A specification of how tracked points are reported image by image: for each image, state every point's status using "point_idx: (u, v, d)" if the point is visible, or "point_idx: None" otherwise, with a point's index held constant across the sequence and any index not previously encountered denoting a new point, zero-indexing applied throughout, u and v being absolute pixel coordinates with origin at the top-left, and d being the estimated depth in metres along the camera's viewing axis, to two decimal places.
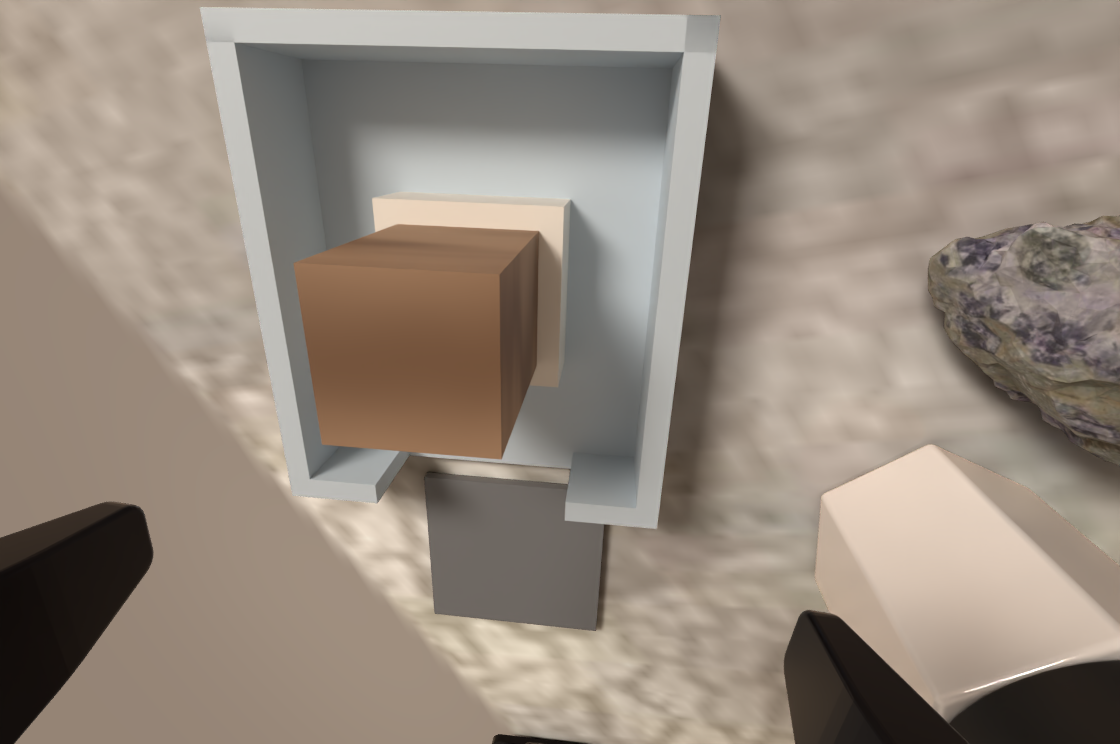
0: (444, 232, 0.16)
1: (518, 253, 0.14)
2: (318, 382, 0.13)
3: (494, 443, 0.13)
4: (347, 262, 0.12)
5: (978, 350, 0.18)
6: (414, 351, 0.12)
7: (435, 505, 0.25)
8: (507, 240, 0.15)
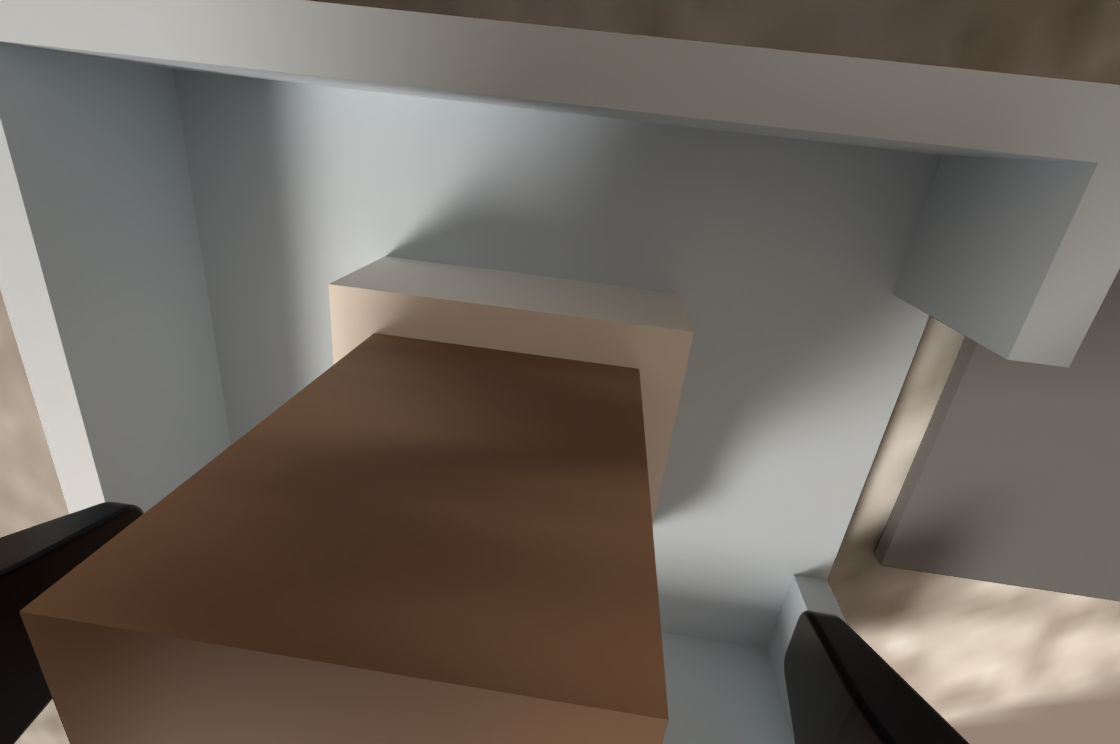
0: None
1: (239, 440, 0.06)
2: None
3: (600, 724, 0.04)
4: None
5: None
6: None
7: (949, 561, 0.13)
8: None
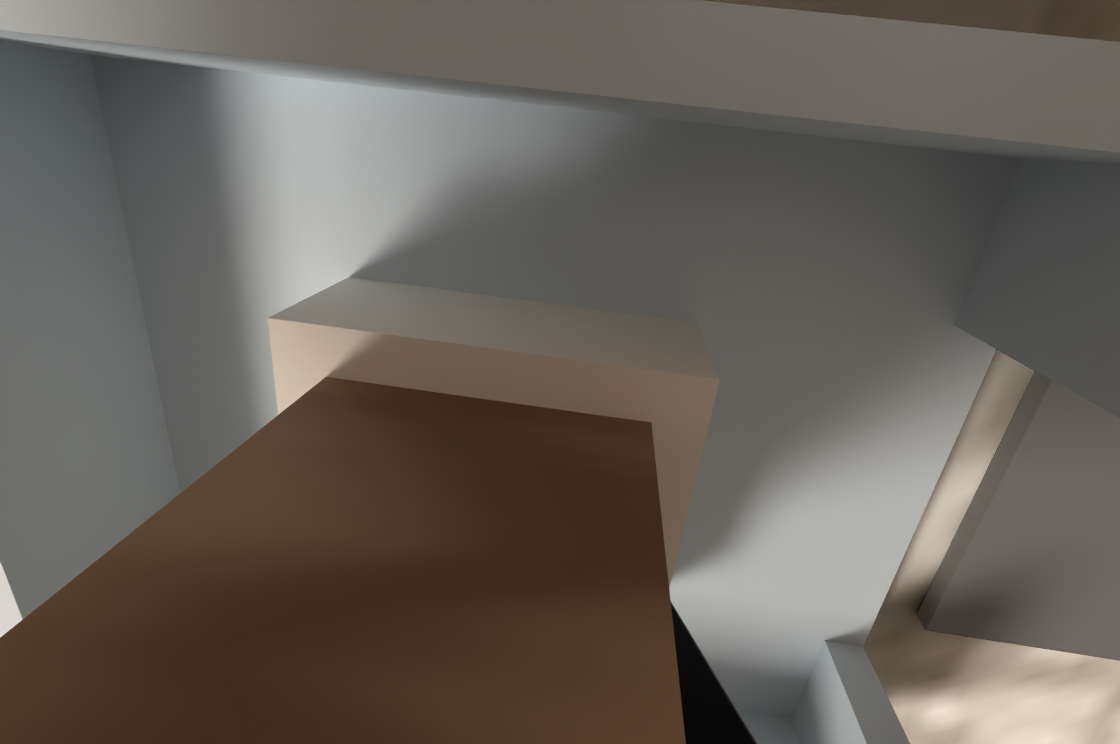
0: None
1: (97, 562, 0.04)
2: None
3: None
4: None
5: None
6: None
7: (1006, 626, 0.11)
8: None
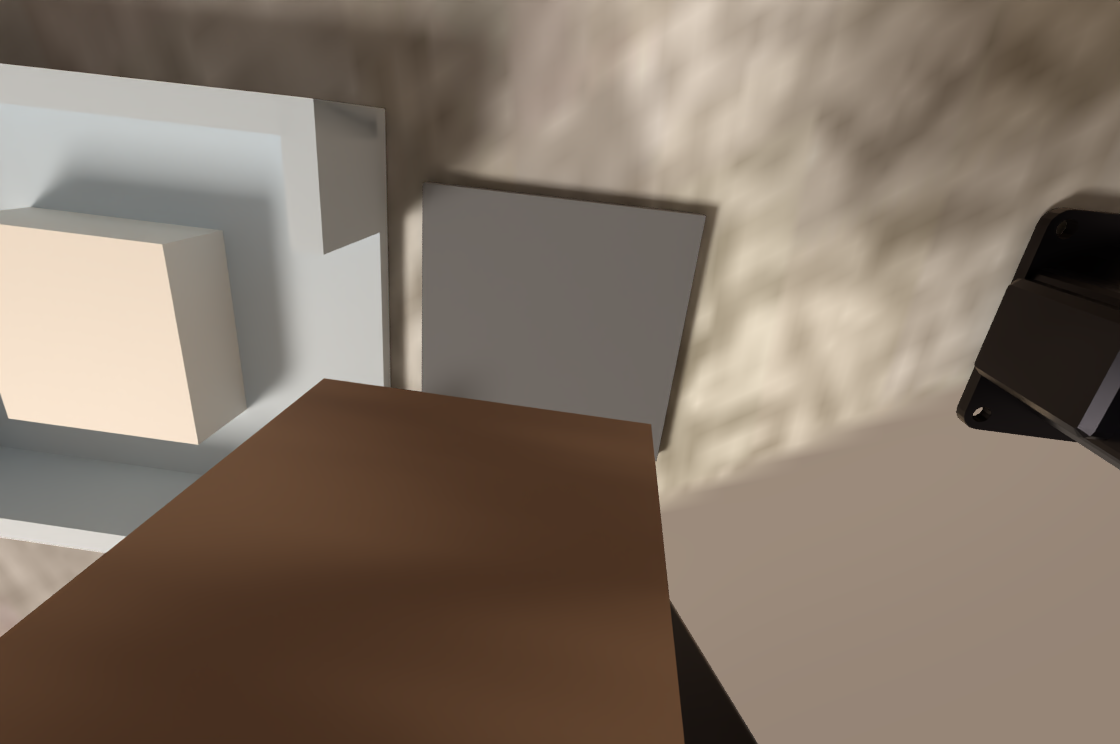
0: None
1: (92, 565, 0.04)
2: None
3: None
4: None
5: None
6: None
7: None
8: None
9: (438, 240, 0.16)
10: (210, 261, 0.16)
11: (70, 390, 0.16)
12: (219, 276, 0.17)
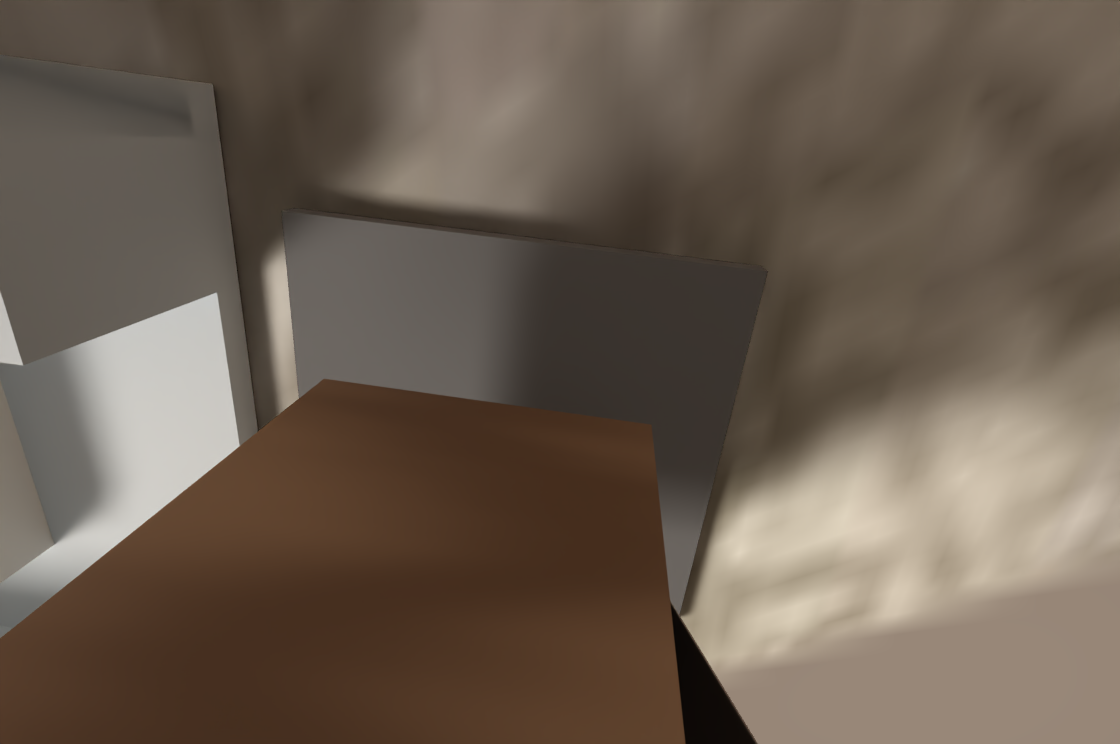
0: None
1: (92, 566, 0.04)
2: None
3: None
4: None
5: None
6: None
7: None
8: None
9: (316, 305, 0.10)
10: None
11: None
12: None
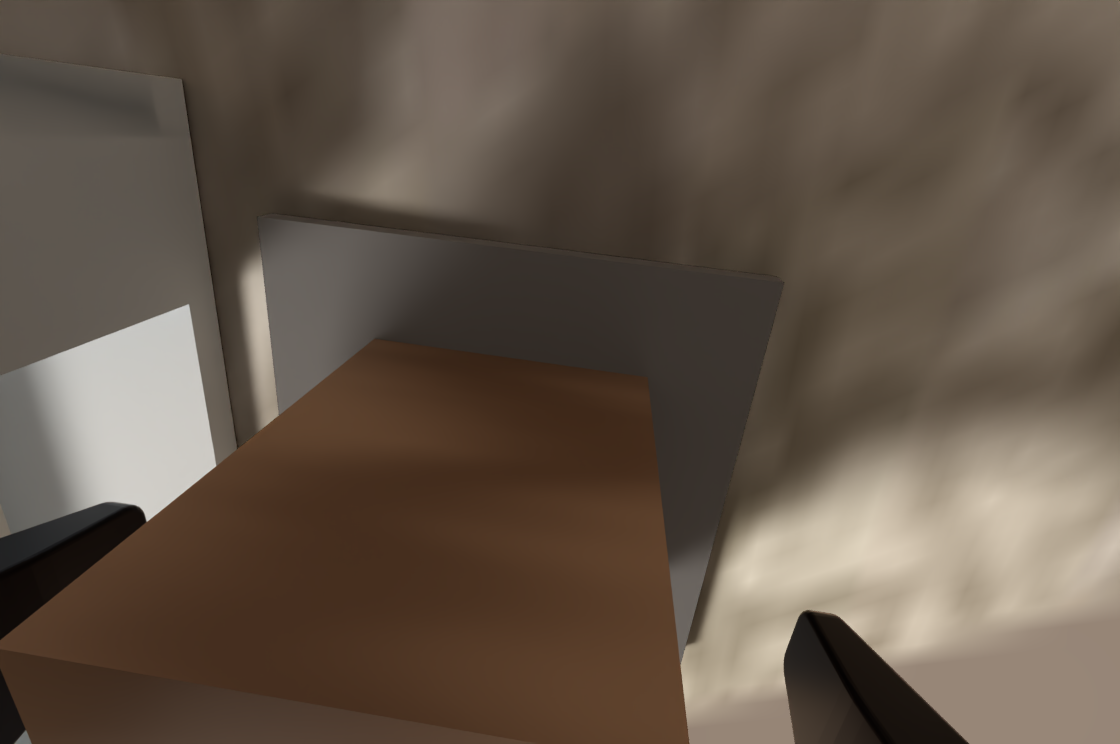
0: None
1: (232, 454, 0.06)
2: None
3: None
4: None
5: None
6: None
7: None
8: None
9: (296, 317, 0.09)
10: None
11: None
12: None
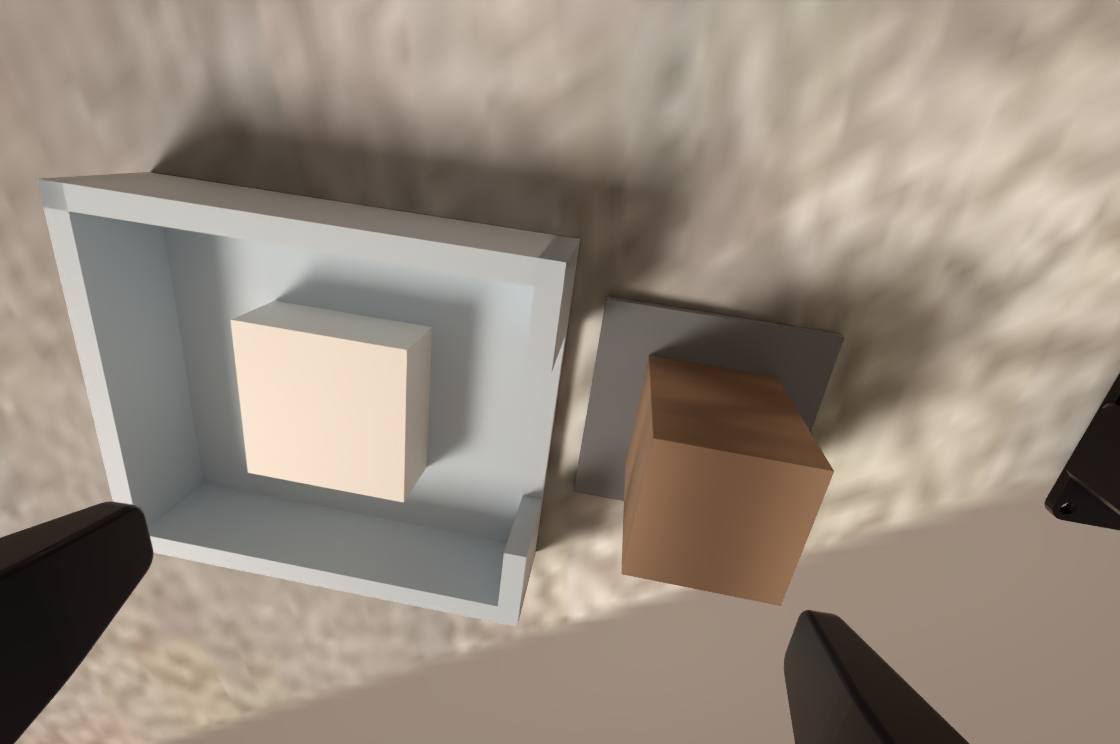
0: (634, 435, 0.19)
1: (651, 398, 0.16)
2: (721, 589, 0.15)
3: (814, 473, 0.14)
4: (628, 537, 0.16)
5: None
6: (708, 514, 0.15)
7: (611, 489, 0.22)
8: (645, 393, 0.18)
9: (612, 343, 0.19)
10: (424, 354, 0.20)
11: (305, 454, 0.20)
12: (427, 364, 0.20)
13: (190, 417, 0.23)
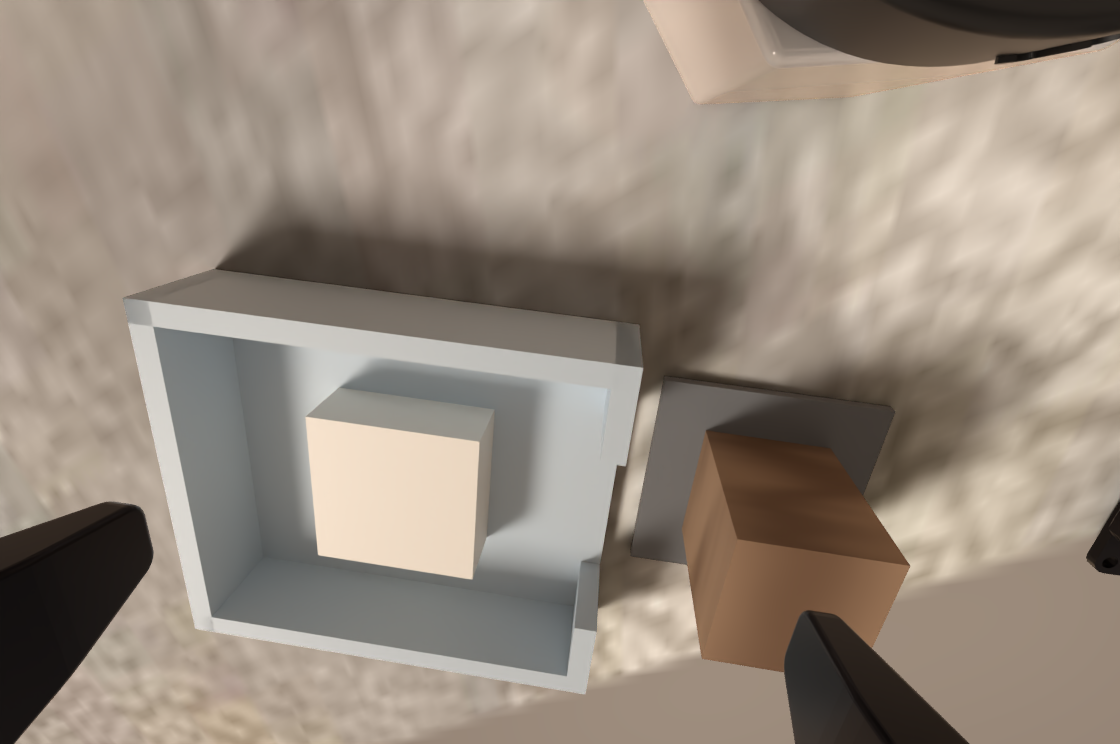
0: (694, 508, 0.20)
1: (722, 487, 0.17)
2: None
3: (891, 567, 0.14)
4: (707, 624, 0.16)
5: None
6: (788, 604, 0.15)
7: (667, 553, 0.22)
8: (710, 474, 0.19)
9: (670, 420, 0.20)
10: (489, 437, 0.20)
11: (376, 537, 0.20)
12: (490, 445, 0.21)
13: (252, 496, 0.23)
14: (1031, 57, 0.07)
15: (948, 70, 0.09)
